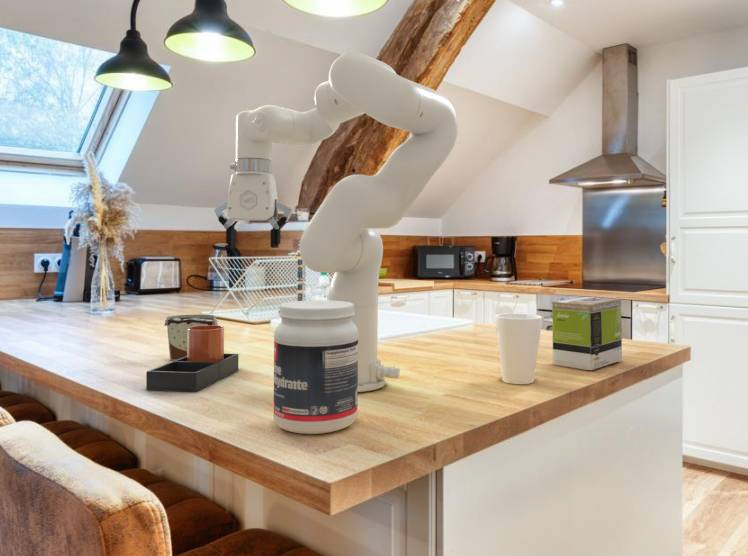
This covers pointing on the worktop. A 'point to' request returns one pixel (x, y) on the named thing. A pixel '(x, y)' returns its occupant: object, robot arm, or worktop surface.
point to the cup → (205, 343)
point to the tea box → (587, 332)
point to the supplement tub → (315, 367)
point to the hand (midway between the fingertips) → (253, 247)
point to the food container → (183, 331)
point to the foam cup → (518, 346)
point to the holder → (190, 374)
